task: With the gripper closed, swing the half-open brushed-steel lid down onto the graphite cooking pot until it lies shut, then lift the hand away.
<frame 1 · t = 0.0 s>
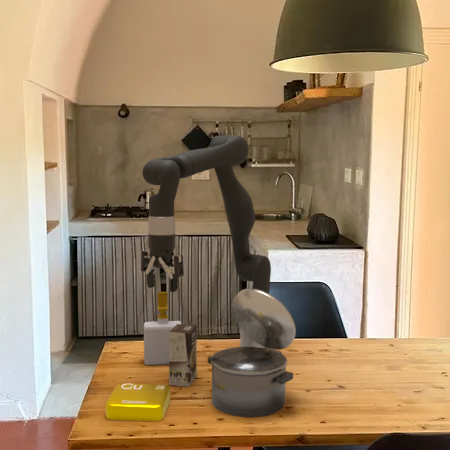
hand: (162, 289, 169), 29 cm above the table, fingers open, 8 cm apart
cooker lid: (264, 317, 168), point 22 cm above the table, hinge at 65.0°
cooker pot: (248, 401, 165), on the table
element tile: (139, 410, 161), on the table
soap bottle: (163, 362, 196), on the table
coffee box: (183, 381, 180), on the table
tweezers: (222, 373, 189), on the table
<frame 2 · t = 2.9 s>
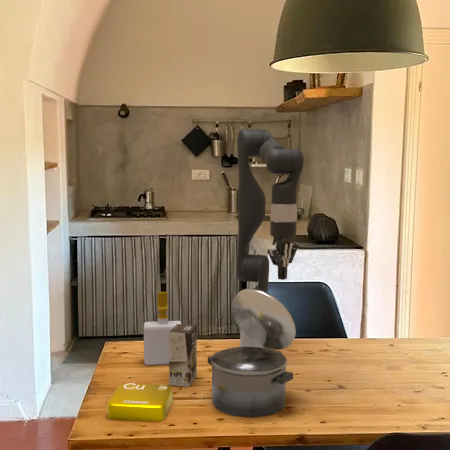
hand: (282, 279, 174), 31 cm above the table, fingers closed
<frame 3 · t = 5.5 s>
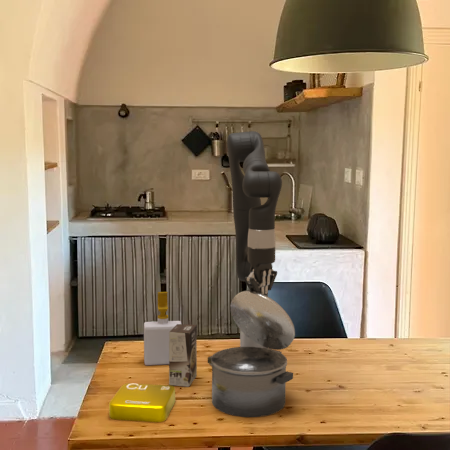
hand: (260, 307, 166), 25 cm above the table, fingers closed
cooker lid: (263, 318, 168), point 22 cm above the table, hinge at 61.6°, touching gripper
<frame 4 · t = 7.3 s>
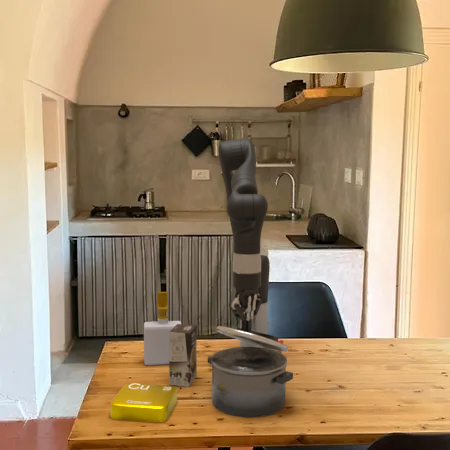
hand: (246, 332, 162), 20 cm above the table, fingers closed
cooker lid: (252, 336, 165), point 18 cm above the table, hinge at 26.1°, touching gripper
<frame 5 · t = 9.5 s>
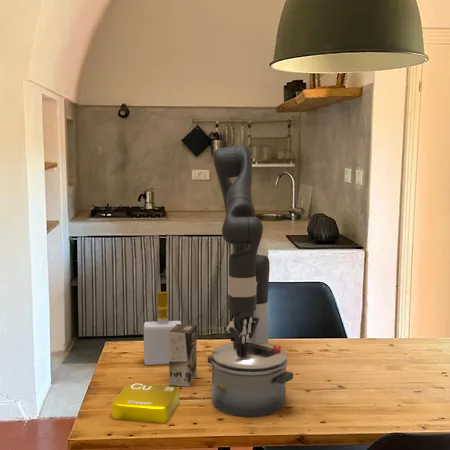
hand: (241, 355, 161), 14 cm above the table, fingers closed
cooker lid: (249, 352, 164), point 14 cm above the table, hinge at 1.2°, touching gripper
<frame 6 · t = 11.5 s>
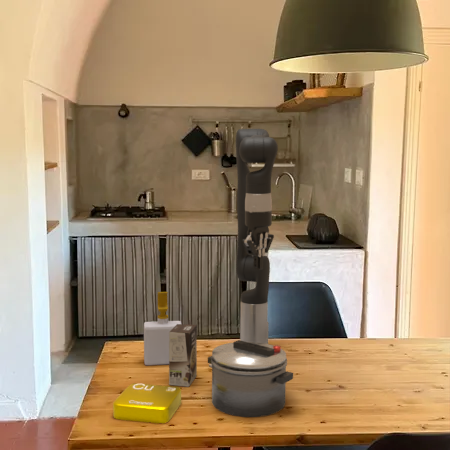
hand: (258, 269, 173), 35 cm above the table, fingers closed
cooker lid: (249, 352, 164), point 14 cm above the table, hinge at 1.2°
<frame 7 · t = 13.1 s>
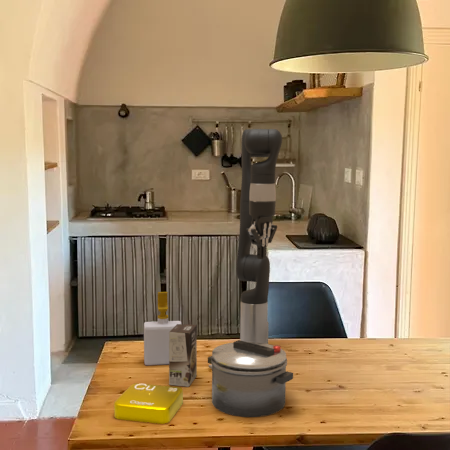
hand: (261, 258, 176), 37 cm above the table, fingers closed
at the end: cooker lid at +1° (first picture: +65°); coffee box moved 0.2 cm from its start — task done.
